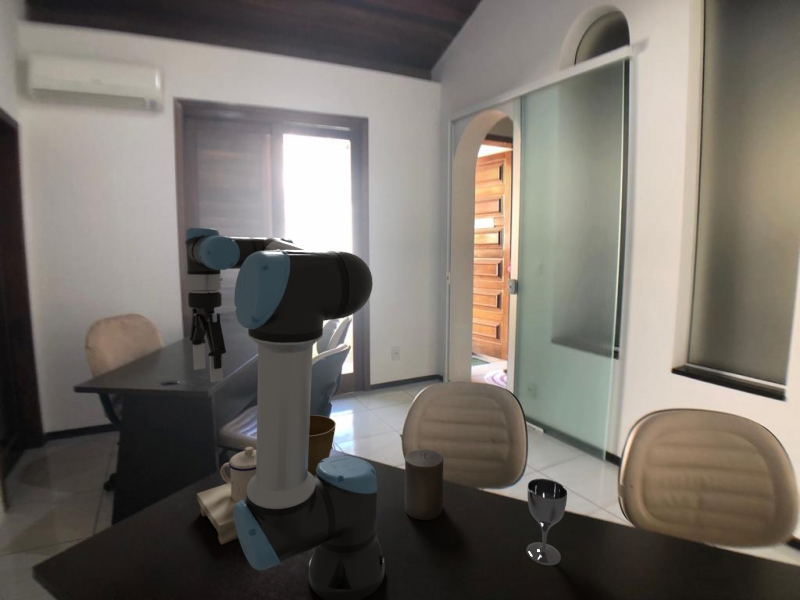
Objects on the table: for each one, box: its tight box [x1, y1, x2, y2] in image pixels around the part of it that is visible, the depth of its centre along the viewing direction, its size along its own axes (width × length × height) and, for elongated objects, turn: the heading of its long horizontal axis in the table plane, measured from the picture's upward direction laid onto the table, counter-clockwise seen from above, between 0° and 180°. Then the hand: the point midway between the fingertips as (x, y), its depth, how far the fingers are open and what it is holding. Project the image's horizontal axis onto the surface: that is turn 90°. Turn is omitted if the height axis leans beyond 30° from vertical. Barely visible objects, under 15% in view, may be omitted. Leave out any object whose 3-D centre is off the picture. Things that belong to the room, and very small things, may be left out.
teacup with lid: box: [220, 446, 257, 502], centre depth 105 cm, size 12×9×12 cm
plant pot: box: [308, 414, 337, 476], centre depth 121 cm, size 15×15×16 cm
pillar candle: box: [404, 448, 444, 521], centre depth 108 cm, size 10×10×15 cm
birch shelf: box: [196, 482, 239, 545], centre depth 105 cm, size 16×18×5 cm
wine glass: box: [525, 478, 568, 567], centre depth 92 cm, size 8×8×15 cm
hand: (207, 374), depth 109 cm, fingers open, 13 cm apart
